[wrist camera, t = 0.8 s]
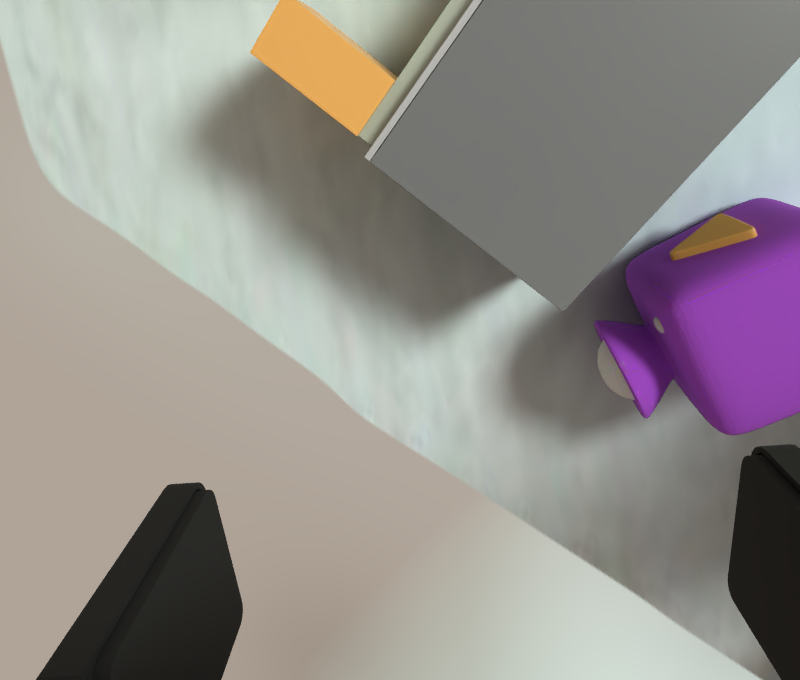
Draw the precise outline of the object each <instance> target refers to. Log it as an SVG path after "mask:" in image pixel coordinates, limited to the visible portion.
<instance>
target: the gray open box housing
mask: <svg viewBox="0 0 800 680" xmlns="http://www.w3.org/2000/svg"><path fill="white" fill-rule="evenodd" d="M799 57H800V0H473V2H472V3H471V4H470V6H469V7H468V9H467V10H466V12H465V13H464V14H463V16H462V17H461V19H460V20H459V22H458V23H457V25H456V26H455V27H454V29H453V30H452V32H451V33H450V35H449V36H448V38H447V39H446V40H445V42H444V43H443V45H442V46H441V48H440V49H439V50H438V52H437V53H436V55H435V56H434V58H433V59H432V61H431V62H430V63H429V65H428V66H427V68H426V69H425V71H424V72H423V74H422V75H421V76H420V78H419V79H418V81H417V82H416V84H415V85H414V86H413V88H412V89H411V91H410V92H409V94H408V95H407V97H406V98H405V99H404V101H403V102H402V104H401V105H400V107H399V108H398V110H397V111H396V112H395V114H394V115H393V117H392V118H391V120H390V121H389V122H388V124H387V125H386V127H385V128H384V130H383V131H382V133H381V134H380V135H379V137H378V138H377V140H376V141H375V143H374V144H373V146H372V147H371V148H370V150H369V151H368V153H367V154H366V156H365V158H366V159H367V160H369V161H370V160H371V159H372V158H373V159H372V160H371V163H372V164H373V165H375V166H376V167H377V168H378V169H380V170H381V171H382V172H384V173H385V174H386V175H387V176H389V177H390V178H391V179H393V180H394V181H395V182H396V183H398V184H399V185H400V186H402V187H403V188H404V189H405V190H407V191H408V192H409V193H411V194H412V195H413V196H414V197H416V198H417V199H418V200H420V201H421V202H422V203H423V204H425V205H426V206H427V207H429V208H430V209H431V210H433V211H434V212H435V213H436V214H438V215H439V216H440V217H442V218H443V219H444V220H445V221H447V222H448V223H449V224H451V225H452V226H453V227H454V228H456V229H457V230H458V231H460V232H461V233H462V234H463V235H465V236H466V237H467V238H469V239H470V240H471V241H472V242H474V243H475V244H476V245H478V246H479V247H480V248H481V249H483V250H484V251H485V252H487V253H488V254H489V255H490V256H492V257H493V258H494V259H496V260H497V261H498V262H499V263H501V264H502V265H503V266H505V267H506V268H507V269H509V270H510V271H511V272H512V273H514V274H515V275H516V276H518V277H519V278H520V279H521V280H523V281H524V282H525V283H527V284H528V285H529V286H530V287H532V288H533V289H534V290H536V291H537V292H538V293H539V294H541V295H542V296H543V297H545V298H546V299H547V300H548V301H550V302H551V303H552V304H554V305H555V306H556V307H557V308H559V309H560V310H561V311H564V310H565V309H566V308H567V307H568V306H569V305H570V304H571V303H572V302H573V301H574V300H575V299H576V297H577V296H578V295H579V294H580V293H581V292H582V291H583V290H584V289H585V288H586V287H587V286H588V285H589V283H590V282H591V281H592V280H593V279H594V278H595V277H596V276H597V275H598V274H599V273H600V272H601V271H602V269H603V268H604V267H605V266H606V265H607V264H608V263H609V262H610V261H611V260H612V259H613V258H614V257H615V255H616V254H617V253H618V252H619V251H620V250H621V249H622V248H623V247H624V246H625V245H626V244H627V243H628V241H629V240H630V239H631V238H632V237H633V236H634V235H635V234H636V233H637V232H638V231H639V230H640V229H641V227H642V226H643V225H644V224H645V223H646V222H647V221H648V220H649V219H650V218H651V217H652V216H653V215H654V213H655V212H656V211H657V210H658V209H659V208H660V207H661V206H662V205H663V204H664V203H665V202H666V201H667V200H668V198H669V197H670V196H671V195H672V194H673V193H674V192H675V191H676V190H677V189H678V188H679V187H680V186H681V184H682V183H683V182H684V181H685V180H686V179H687V178H688V177H689V176H690V175H691V174H692V173H693V172H694V170H695V169H696V168H697V167H698V166H699V165H700V164H701V163H702V162H703V161H704V160H705V159H706V158H707V156H708V155H709V154H710V153H711V152H712V151H713V150H714V149H715V148H716V147H717V146H718V145H719V144H720V142H721V141H722V140H723V139H724V138H725V137H726V136H727V135H728V134H729V133H730V132H731V131H732V130H733V128H734V127H735V126H736V125H737V124H738V123H739V122H740V121H741V120H742V119H743V118H744V117H745V116H746V114H747V113H748V112H749V111H750V110H751V109H752V108H753V107H754V106H755V105H756V104H757V103H758V102H759V100H760V99H761V98H762V97H763V96H764V95H765V94H766V93H767V92H768V91H769V90H770V89H771V88H772V86H773V85H774V84H775V83H776V82H777V81H778V80H779V79H780V78H781V77H782V76H783V75H784V74H785V72H786V71H787V70H788V69H789V68H790V67H791V66H792V65H793V64H794V63H795V62H796V61H797V60H798V58H799ZM384 141H385V142H384ZM383 142H384V143H383ZM381 145H382V146H381ZM379 148H380V149H379ZM378 149H379V150H378ZM377 151H378V152H377ZM376 152H377V153H376ZM374 155H375V156H374Z"/></svg>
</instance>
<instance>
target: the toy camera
mask: <svg viewBox="0 0 800 680" xmlns="http://www.w3.org/2000/svg"><path fill="white" fill-rule="evenodd" d="M626 281H627V285H628V288H629V291H630V293H631V295H632V298H633V300H634V302H635V304H636V307H637V309H638V311H639V313H640V315H641V317H642V319H643V322H644V324H645V325H634V324H628V323H622V322H614V321H602V320H598V321H595V322H594V326H595V328H596V331H597V333H598V335H599V337H600V339H601V341H602V343H601V345H600V347H599V350H598V355H597V364H598V369H599V372H600V374H601V377H602V379H603V380H604V382H605V383H606V385H607V386H608V387H609V388H610V389H611V390H612V391H613V392H615V393H616V394H618V395H620V396H621V397H624V398H627V399H632V400H633V402H634V404H635V405H636V407H637V409H638V411H639V412H640V414H641V415H642V416H643V417H644V418H648V417H649V416H650V415H651V413H652V412H653V411H654V409H655V408H656V406H657V404H658V403H659V401H660V399H661V398H662V396H663V394H664V392H665V391H666V389H667V387H668V385H669V384H670V382H671V381H672V379H674V380H675V381H676V383H677V384H678V385H679V387H680V388H681V389H682V391H683V392H684V393H685V395H686V396H687V397H688V398H689V400H690V401H691V402H692V403H693V405H694V406H695V407H696V408H697V410H698V411H699V412H700V413H701V414H702V415H703V417H704V418H705V419H706V420H707V421H708V422H709V423H710V424H711V425H712V426H713V427H714V428H716V429H717V430H719V431H720V432H722V433H724V434H728V435H739V434H743V433H747V432H750V431H753V430H756V429H759V428H762V427H764V426H767V425H769V424H772V423H774V422H777V421H779V420H782V419H784V418H787V417H789V416H792V415H794V414H797V413H799V412H800V208H799V207H796V206H793V205H790V204H786V203H783V202H780V201H776V200H773V199H768V198H756V199H752V200H749V201H746V202H743V203H741V204H738V205H736V206H734V207H732V208H730V209H728V210H726V211H724V212H722V213H719V214H717V215H716V216H714V217H712V218H710V219H708V220H706V221H704V222H702V223H700V224H698V225H696V226H694V227H692V228H690V229H688V230H686V231H684V232H682V233H680V234H678V235H676V236H674V237H672V238H670V239H668V240H666V241H664V242H662V243H660V244H658V245H656V246H654V247H652V248H650V249H649V250H647V251H645V252H643V253H642V254H640V255H638V256H637V257H635V258H634V259H633V260H632V261H631V262H630V263H629V264H628V266H627V268H626Z"/></svg>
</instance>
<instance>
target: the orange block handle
mask: <svg viewBox="0 0 800 680" xmlns="http://www.w3.org/2000/svg"><path fill="white" fill-rule="evenodd" d="M472 2H473V0H450V2H449V3H448V5H447V6H446V8H445V9H444V11H443V12H442V14H441V15H440V17H439V18H438V20H437V21H436V22H435V24H434V25H433V27H432V28H431V30H430V31H429V33H428V34H427V36H426V37H425V39H424V40H423V42H422V43H421V45H420V46H419V47H418V49H417V50H416V52H415V53H414V55H413V56H412V58H411V59H410V61H409V62H408V64H407V65H406V67H405V68H404V70H403V71H402V72H401V74H400V75H399V77H397V76H396V75H394V74H393V73H392V72H391V71H389V70H388V69H387V68H386V67H384V66H383V65H382V64H381V63H380V62H378V61H377V60H376V59H375V58H373V57H372V56H371V55H370V54H368V53H367V52H366V51H365V50H364V49H362V48H361V47H360V46H359V45H357V44H356V43H355V42H354V41H352V40H351V39H350V38H349V37H348V36H346V35H345V34H344V33H343V32H341V31H340V30H339V29H338V28H336V27H335V26H334V25H333V24H332V23H330V22H329V21H328V20H327V19H325V18H324V17H323V16H322V15H320V14H319V13H318V12H317V11H315V10H314V9H312V8H311V7H309V6H307V5H306V4H304V3H303V2H301V1H299V0H280V1H279V3H278V5H277V6H276V8H275V10H274V11H273V13H272V15H271V17H270V18H269V20H268V22H267V24H266V25H265V27H264V29H263V31H262V32H261V34H260V36H259V38H258V39H257V41H256V43H255V45H254V46H253V48H252V50H251V52H250V53H251V54H252V55H254V56H255V57H256V58H258V59H259V60H260V61H261V62H263V63H264V64H265V65H267V66H268V67H269V68H270V69H272V70H273V71H274V72H275V73H277V74H278V75H279V76H281V77H282V78H283V79H284V80H286V81H287V82H288V83H290V84H291V85H292V86H293V87H295V88H296V89H297V90H299V91H300V92H301V93H302V94H304V95H305V96H306V97H307V98H309V99H310V100H311V101H313V102H314V103H315V104H316V105H318V106H319V107H320V108H322V109H323V110H324V111H325V112H327V113H328V114H329V115H330V116H332V117H333V118H334V119H336V120H337V121H338V122H339V123H341V124H342V125H343V126H345V127H346V128H347V129H348V130H350V131H351V132H352V133H354V134H355V135H356V136H360V137H361V138H362V139H364V140H365V141H366V142H367V143H369V144H370V145H371V146H373V144H374V143H375V141H376V140H377V138H378V137H379V135H380V134H381V133H382V131H383V130H384V128H385V127H386V125H387V124H388V122H389V121H390V120H391V118H392V117H393V115H394V114H395V112H396V111H397V110H398V108H399V107H400V105H401V104H402V102H403V101H404V99H405V98H406V97H407V95H408V94H409V92H410V91H411V89H412V88H413V86H414V85H415V84H416V82H417V81H418V79H419V78H420V76H421V75H422V74H423V72H424V71H425V69H426V68H427V66H428V65H429V63H430V62H431V61H432V59H433V58H434V56H435V55H436V53H437V52H438V50H439V49H440V48H441V46H442V45H443V43H444V42H445V40H446V39H447V38H448V36H449V35H450V33H451V32H452V30H453V29H454V27H455V26H456V25H457V23H458V22H459V20H460V19H461V17H462V16H463V14H464V13H465V12H466V10H467V9H468V7H469V6H470V4H471V3H472Z"/></svg>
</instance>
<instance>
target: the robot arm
mask: <svg viewBox="0 0 800 680" xmlns="http://www.w3.org/2000/svg"><path fill="white" fill-rule="evenodd" d="M728 587H729V591H730V594H731V597H732V599H733V601H734V603H735V605H736V606H737V608H738V610H739V611H740V613H741V614H742V616H743V618H744V619H745V621H746V623H747V624H748V626H749V628H750V629H751V631H752V632H753V634H754V636H755V637H756V639H757V641H758V642H759V644H760V645H761V647H762V649H763V650H764V652H765V654H766V655H767V657H768V659H769V660H770V662H771V663H772V665H773V667H774V668H775V670H776V672H777V673H778V675H779V677H780V678H781V680H800V448H798V447H797V446H795V445H775V446H759V447H756V448H754V450H753V452H752V455H751V456H746V457H744V459H743V461H742V465H741V473H740V482H739V490H738V498H737V506H736V515H735V523H734V531H733V539H732V548H731V556H730V564H729V572H728ZM242 613H243V606H242V600H241V596H240V592H239V588H238V584H237V580H236V576H235V572H234V568H233V564H232V560H231V557H230V553H229V549H228V545H227V541H226V537H225V533H224V530H223V526H222V522H221V517H220V514H219V510H218V506H217V502H216V499H215V495H214V493H213V491H212V490H205V488H204V486H203V485H202V484H201V483H185V484H184V483H183V484H171V485H168V486H167V487H166V488H165V489H164V490H163V492H162V493H161V495H160V496H159V498H158V499H157V501H156V502H155V504H154V505H153V507H152V508H151V510H150V511H149V513H148V514H147V516H146V517H145V519H144V520H143V522H142V523H141V525H140V526H139V527H138V529H137V530H136V532H135V534H134V535H133V536H132V538H131V539H130V541H129V542H128V544H127V545H126V547H125V548H124V550H123V551H122V553H121V554H120V556H119V557H118V559H117V560H116V562H115V563H114V565H113V566H112V568H111V569H110V571H109V572H108V573H107V575H106V576H105V578H104V579H103V581H102V582H101V584H100V585H99V587H98V588H97V590H96V591H95V593H94V594H93V596H92V597H91V599H90V600H89V602H88V603H87V605H86V606H85V608H84V609H83V611H82V612H81V614H80V615H79V617H78V618H77V619H76V621H75V623H74V624H73V626H72V627H71V629H70V630H69V632H68V633H67V634H66V636H65V638H64V639H63V640H62V642H61V643H60V645H59V646H58V648H57V649H56V651H55V652H54V654H53V655H52V657H51V658H50V660H49V661H48V663H47V664H46V666H45V667H44V669H43V670H42V672H41V673H40V675H39V676H38V677H37V679H36V680H221V678H222V676H223V673H224V670H225V667H226V664H227V662H228V659H229V656H230V653H231V650H232V647H233V645H234V642H235V639H236V636H237V633H238V630H239V627H240V625H241V621H242Z"/></svg>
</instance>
